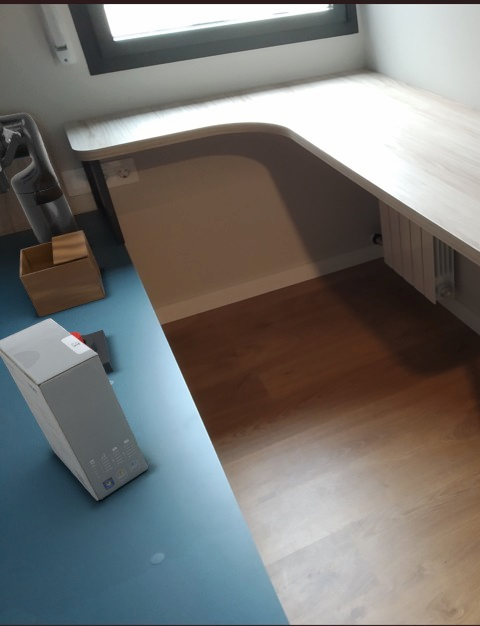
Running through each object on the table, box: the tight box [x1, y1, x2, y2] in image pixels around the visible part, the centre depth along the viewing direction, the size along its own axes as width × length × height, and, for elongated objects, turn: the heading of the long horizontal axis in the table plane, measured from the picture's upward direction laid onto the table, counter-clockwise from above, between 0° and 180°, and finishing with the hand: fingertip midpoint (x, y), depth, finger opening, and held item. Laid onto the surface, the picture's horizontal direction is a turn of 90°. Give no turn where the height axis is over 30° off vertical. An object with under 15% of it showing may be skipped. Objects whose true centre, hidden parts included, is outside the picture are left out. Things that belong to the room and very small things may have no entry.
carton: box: [19, 232, 107, 318], centre depth 131 cm, size 15×13×9 cm
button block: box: [80, 329, 114, 375], centre depth 109 cm, size 12×10×4 cm
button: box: [69, 331, 85, 344], centre depth 107 cm, size 4×4×2 cm
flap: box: [52, 230, 88, 265], centre depth 129 cm, size 15×6×1 cm, turn 28°
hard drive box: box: [0, 318, 149, 501], centre depth 83 cm, size 16×8×20 cm, turn 48°
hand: (3, 192), depth 110 cm, fingers closed
